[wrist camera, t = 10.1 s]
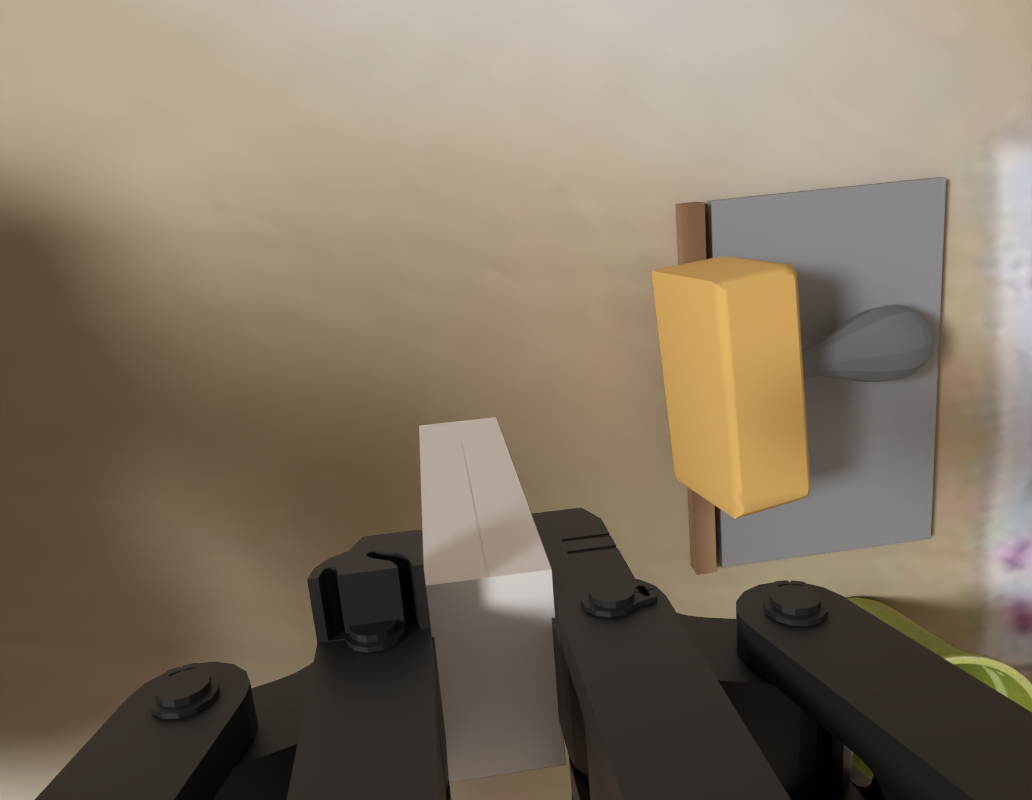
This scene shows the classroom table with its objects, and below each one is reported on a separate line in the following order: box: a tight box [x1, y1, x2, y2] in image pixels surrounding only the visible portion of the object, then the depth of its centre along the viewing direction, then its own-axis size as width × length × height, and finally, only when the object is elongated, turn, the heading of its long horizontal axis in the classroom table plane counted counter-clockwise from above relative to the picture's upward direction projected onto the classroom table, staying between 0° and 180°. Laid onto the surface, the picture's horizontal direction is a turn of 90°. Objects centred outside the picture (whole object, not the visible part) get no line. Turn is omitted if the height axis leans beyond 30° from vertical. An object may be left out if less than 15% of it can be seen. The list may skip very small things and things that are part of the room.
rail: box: [676, 202, 717, 575], centre depth 39 cm, size 1×18×1 cm, turn 6°
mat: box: [707, 177, 946, 567], centre depth 39 cm, size 11×18×1 cm, turn 6°
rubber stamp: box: [652, 256, 935, 519], centre depth 36 cm, size 10×6×12 cm
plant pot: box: [846, 597, 1032, 779], centre depth 40 cm, size 9×9×9 cm
